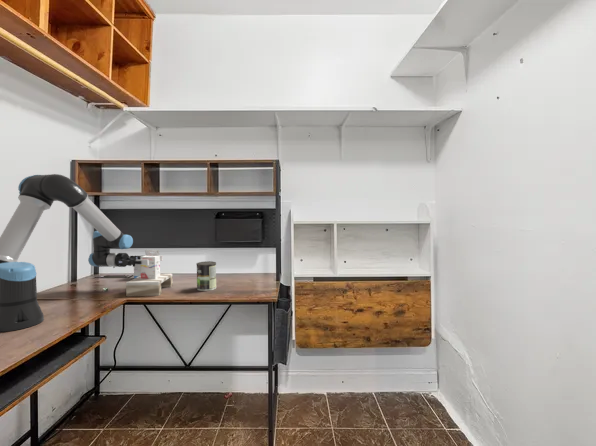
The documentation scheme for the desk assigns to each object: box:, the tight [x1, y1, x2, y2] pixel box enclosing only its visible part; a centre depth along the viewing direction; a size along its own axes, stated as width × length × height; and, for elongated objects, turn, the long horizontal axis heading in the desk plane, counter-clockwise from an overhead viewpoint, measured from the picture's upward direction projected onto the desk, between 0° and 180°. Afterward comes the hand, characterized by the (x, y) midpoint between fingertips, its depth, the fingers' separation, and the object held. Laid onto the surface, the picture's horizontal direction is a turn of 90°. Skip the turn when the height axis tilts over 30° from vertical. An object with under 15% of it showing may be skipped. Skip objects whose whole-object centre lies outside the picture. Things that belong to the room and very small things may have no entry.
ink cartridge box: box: [140, 249, 161, 279], centre depth 167 cm, size 9×5×15 cm, turn 83°
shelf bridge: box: [125, 273, 174, 297], centre depth 167 cm, size 20×16×7 cm
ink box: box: [133, 264, 141, 279], centre depth 196 cm, size 9×8×13 cm
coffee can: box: [196, 260, 217, 292], centre depth 171 cm, size 10×10×14 cm
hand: (155, 260), depth 166 cm, fingers open, 13 cm apart
